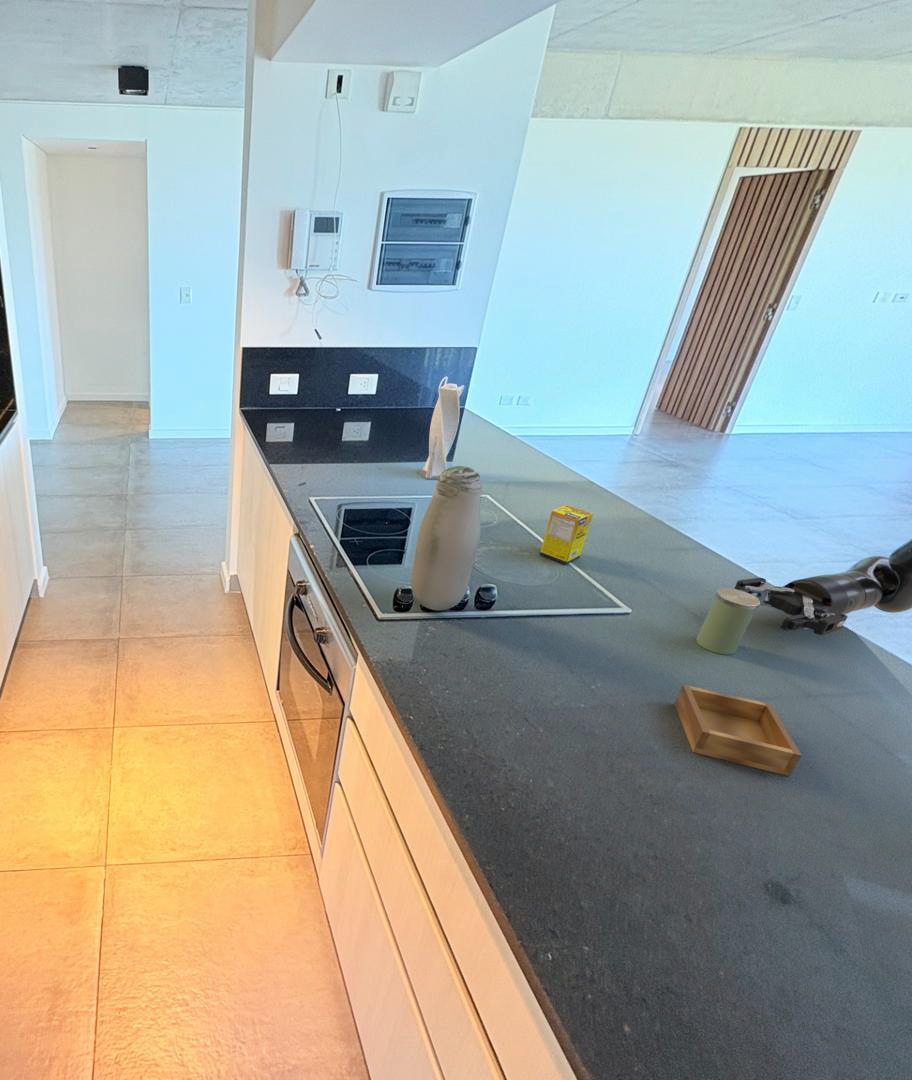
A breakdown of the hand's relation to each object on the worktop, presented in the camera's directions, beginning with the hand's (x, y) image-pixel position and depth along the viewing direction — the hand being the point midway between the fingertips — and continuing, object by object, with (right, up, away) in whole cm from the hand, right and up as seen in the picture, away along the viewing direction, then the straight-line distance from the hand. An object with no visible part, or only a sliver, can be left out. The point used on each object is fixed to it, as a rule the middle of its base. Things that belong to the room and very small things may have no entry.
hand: (757, 610), depth 106 cm
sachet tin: (-6, -6, +1) cm, 9 cm away
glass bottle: (-51, -1, +13) cm, 52 cm away
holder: (-21, -16, -18) cm, 32 cm away
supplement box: (-16, +8, +30) cm, 35 cm away
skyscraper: (-26, +32, +77) cm, 87 cm away
